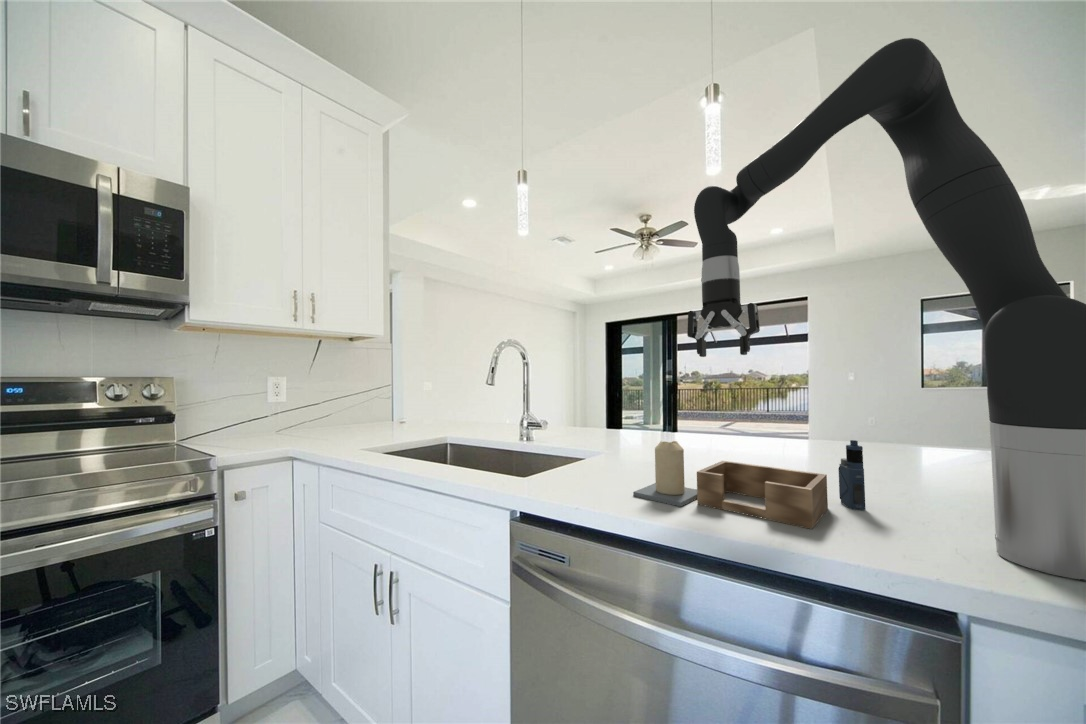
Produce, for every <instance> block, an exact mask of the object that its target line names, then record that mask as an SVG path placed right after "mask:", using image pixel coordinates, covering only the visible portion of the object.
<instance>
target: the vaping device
mask: <svg viewBox="0 0 1086 724" xmlns="http://www.w3.org/2000/svg"><path fill="white" fill-rule="evenodd" d="M849 442H850V443H849V444H846V445H845V453H846V454H845V456H846V458H840V463H839V464H838V465H839V466H838V490H839V492H838V493H839V499H840V503H841V504H842V505H844V506H845V507H847V508H848V509H851V510H856V511H867V510H866V489H865V488H866V486H865V484H866V483H865V468H864V454H863V452H864V450H863V448H864V447H863V446H862V445H858V443H859V441H858V440H854V439H851V440H849Z"/></svg>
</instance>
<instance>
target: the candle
mask: <svg viewBox="0 0 1086 724" xmlns="http://www.w3.org/2000/svg"><path fill="white" fill-rule="evenodd" d="M684 451H685V450H684V448H683V447H682V445H680V444H679V442H678V441H677V440H673V441H670V442H669V441H662V440H660V441H659V443H658V444H657V445H656V446H655V447H654V467H655V469H654V471H655V473H654V474H655V476H654V477H655V483H656V491H657V492H659V493H662V494H667V495H680V494H683V493H684V491H685V487H686V486H685V457H684V456H685V454H684V453H685V452H684Z"/></svg>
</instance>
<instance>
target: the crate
mask: <svg viewBox="0 0 1086 724" xmlns="http://www.w3.org/2000/svg"><path fill="white" fill-rule="evenodd" d="M827 475H828V474H825V473H818V472H811V471H803V470H802V471H801V470H796V469H795V470H794V469H790V468H789V469H788V468H780V467H774V466H765V465H759V464H752V463H751V464H750V463H745V462H744V463H743V462H734V461H729V460H728V461H727V460H720V461H719V462H716V463H714V464H712V465H710V466H707V467H704V468H701V469H700V470H697V471H696V489H697V499H696V500H697V501H696V502H697V503H698V504H697V505H699V504H702V505H701V506H704V505H706V506H705V507H708V506H710V507H709V508H713V507H715V508H714V509H718V508H720V509H719V510H722V509H725V510H724V511H727V510H730V511H729V512H731V511H735V512H734V513H736V512H739V513H738V514H740V513H744V514H743V515H745V514H748V515H747V516H750V515H753V516H752V517H754V516H757V517H756V518H759V517H762V518H761V519H763V518H766V519H765V520H768V519H770V520H769V521H773V522H777V521H778V523H783V524H787V525H792V526H797V527H800V526H802V528H805V527H806V529H809V528H811V529H810V530H813V529H814V527H815V526H816V525H817V524H816V523H818V522H819V521H820V519H821V518H822V517H823V516H824V515H825V513H826V512H827V511H828V509H829V506H828V501H829V500H828V479H827V478H828V477H827ZM726 491H728V493H733V492H734V493H733V494H738V493H739V495H743V494H745V495H744V496H749V495H750V496H749V497H754V496H755V498H759V497H760V498H761V499H764V500H765V501H764V503H765V504H764V505H765V507H762V506H757V505H752V504H748V503H743V502H737V501H733V500H727V499H725V493H727V492H726ZM812 528H813V529H812Z"/></svg>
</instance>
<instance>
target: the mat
mask: <svg viewBox="0 0 1086 724" xmlns="http://www.w3.org/2000/svg"><path fill="white" fill-rule="evenodd" d="M632 493H633V494H632V496H633V497H637V498H640V497H641V499H645V500H650V501H655V502H659V503H662V502H663V504H666V503H667V505H671V504H672V505H671V506H675V505H677V506H676V507H680V506H682V507H684V506H686V505H688V504H689V502H690V501H691V502H693V501H695V500H697V499H696V498H697V488H696V489H695V488H691V487H686V486H685V491H684V493H683V494H680V495H667V494H662V493H659V492H657V491H656V482H654V483H652V484H650V485H649V484H648V485H647V486H645V487H642V488H639V489H637V490H634V491H633V492H632ZM694 499H695V500H694ZM692 500H693V501H692ZM691 502H690V503H691ZM687 503H688V504H687ZM685 504H686V505H685ZM683 505H684V506H683Z"/></svg>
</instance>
